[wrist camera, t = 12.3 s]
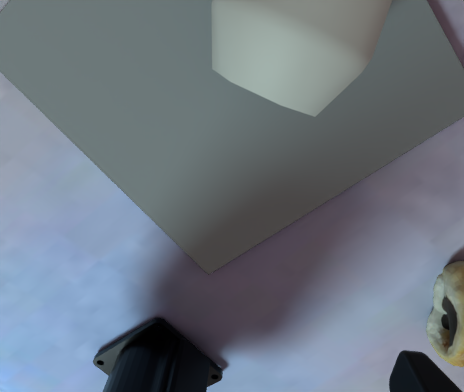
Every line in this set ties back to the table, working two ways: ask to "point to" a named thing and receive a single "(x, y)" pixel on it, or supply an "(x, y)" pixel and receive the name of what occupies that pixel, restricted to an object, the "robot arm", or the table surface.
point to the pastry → (448, 315)
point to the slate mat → (220, 114)
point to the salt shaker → (295, 47)
